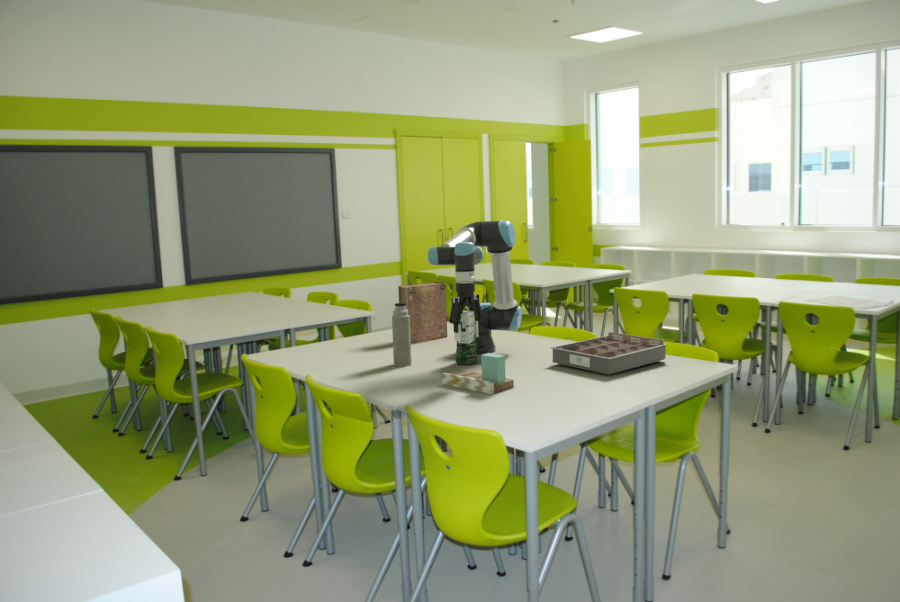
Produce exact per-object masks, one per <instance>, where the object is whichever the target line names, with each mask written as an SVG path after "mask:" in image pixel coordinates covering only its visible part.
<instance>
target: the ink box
mask: <svg viewBox="0 0 900 602" xmlns="http://www.w3.org/2000/svg"><path fill="white" fill-rule="evenodd" d="M459 324H461V341H458V343H468V344H469V343H471V342H472V341H474V340H475V314H474V311H470V310H469V311H467V310H463V313H462V314H461V319H460V322H459Z"/></svg>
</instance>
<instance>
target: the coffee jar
mask: <svg viewBox="0 0 900 602" xmlns="http://www.w3.org/2000/svg"><path fill="white" fill-rule="evenodd" d="M455 350H456V353H455V362H456V364H457V365H463V366H467V365H472V364H473V365H475V364H477V363H478V362H479V360H478V359H479V358H478V354H477V349H476V337H475V340H474V341H472V342H471V343H469V344H468V343H458V341H456V349H455Z"/></svg>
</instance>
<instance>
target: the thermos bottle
mask: <svg viewBox="0 0 900 602" xmlns="http://www.w3.org/2000/svg"><path fill="white" fill-rule="evenodd" d="M405 305H406V303H399V302H396V303H394V306H395V307H394V310H393V312H392V316H391V325H392V326H391V327H392V348H393V349H392V350H393V351H392V353H393V366H394V365H395V367H400V366H401V367H409V366H411V365H412V344H411V337H410V315H408V310H406V306H405Z"/></svg>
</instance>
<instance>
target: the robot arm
mask: <svg viewBox="0 0 900 602" xmlns="http://www.w3.org/2000/svg"><path fill="white" fill-rule="evenodd" d="M516 240H517V239H516V231H515V228H514V225H513V223H512V222H511V221H509V220H488V221H487V220H486V221H484V220H483V221H482V220H479V221H474V222H471V223H469V224H467V225H464V226H463V227H461V228H459V229H458V230H457V231H456V233H455V235H454V236H452V237H451V238H450V239H448V240H446V242H444V243H443V244H442V245H440V246H436V245H435V246H430V247H429V248H428V250H427V261H428V263H429V264H430V265H432V266H455V270H454V271H455V272H454V275H455V292H456V293H457V294H456V295H457V296H456V297H451V307H450V315H449V322H448V323H449V324H451V325H453V333H454V341H456V342H457V341H461V324H459V322H460V319H461V314H462V313H463V311H465V310H464V309H466V311H469V310H470V311H474V314H475V337H476V349H477V355H478V354H481V355H483V354H487V353H493V352H495V351H496V345H495V343H494V342H495V341H494V339H493V336H492V335H493V334H492V331H507V332H508V331H509V332H510V331H517V330H519V328H520V326H521V323H522V318H523V308H522V306H519V305H518V301H517V300H516V299H515V298H514V297H515V296H514V286H513V276H512V265H511V256H510V255H511V254H510V252H512V250H513V247H515V245H516ZM483 247H484V248H485V247H486V249H487V253H488V254H490V258H491V267H492V276H493V287H494V296H495V301H494V302H493V304H491V302H480V294H474V293H475V292H476V283H475V282H474V281H475V277H476V276H475V266H476V265H479V264H480V263H481V262H482V261H483V259H484V256H485V253H484V250H483ZM466 307H467V308H466Z"/></svg>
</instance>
